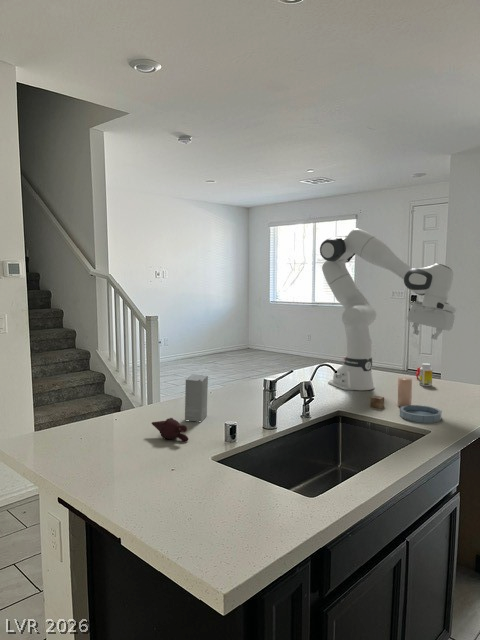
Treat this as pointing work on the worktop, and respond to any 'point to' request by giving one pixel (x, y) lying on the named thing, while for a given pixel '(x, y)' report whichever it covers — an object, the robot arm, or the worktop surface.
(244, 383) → the worktop surface
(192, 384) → the skincare box
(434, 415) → the dish
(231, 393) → the worktop surface
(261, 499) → the worktop surface
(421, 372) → the supplement bottle
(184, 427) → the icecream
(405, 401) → the peach tapered cylinder
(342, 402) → the worktop surface
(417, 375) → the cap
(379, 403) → the walnut block
